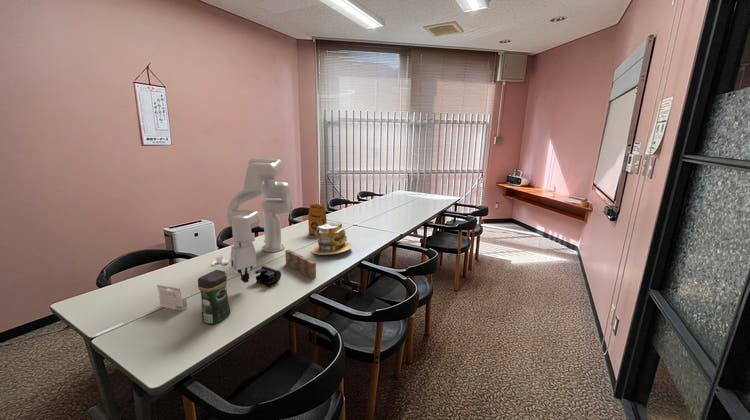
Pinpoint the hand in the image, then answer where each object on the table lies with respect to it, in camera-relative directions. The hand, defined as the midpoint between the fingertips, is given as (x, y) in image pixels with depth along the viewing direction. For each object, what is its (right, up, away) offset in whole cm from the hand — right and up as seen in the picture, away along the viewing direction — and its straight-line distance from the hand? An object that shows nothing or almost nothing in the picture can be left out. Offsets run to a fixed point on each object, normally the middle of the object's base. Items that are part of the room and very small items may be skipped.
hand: (245, 281), depth 139 cm
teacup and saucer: (-25, +2, +25) cm, 35 cm away
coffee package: (+18, +15, +80) cm, 83 cm away
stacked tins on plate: (+32, +7, +51) cm, 61 cm away
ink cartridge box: (-23, -7, -14) cm, 28 cm away
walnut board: (+19, +1, +22) cm, 29 cm away
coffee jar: (-3, -9, -20) cm, 22 cm away
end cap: (+7, -3, +9) cm, 12 cm away
